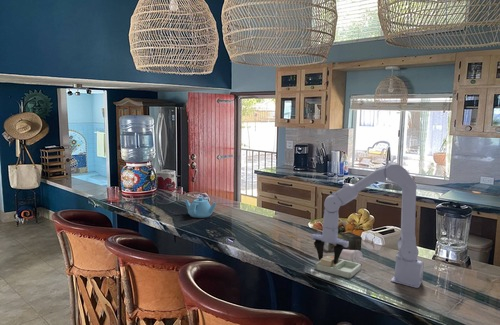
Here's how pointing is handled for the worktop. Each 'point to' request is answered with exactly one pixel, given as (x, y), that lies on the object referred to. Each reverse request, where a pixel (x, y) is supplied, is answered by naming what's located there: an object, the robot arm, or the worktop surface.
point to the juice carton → (352, 238)
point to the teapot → (200, 208)
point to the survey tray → (340, 268)
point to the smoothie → (352, 256)
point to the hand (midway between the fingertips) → (328, 261)
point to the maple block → (327, 261)
